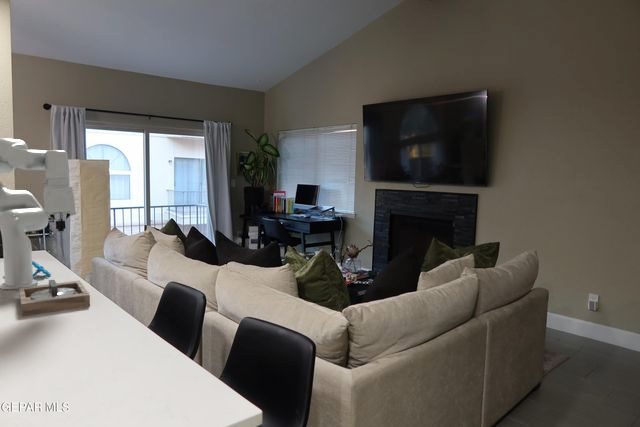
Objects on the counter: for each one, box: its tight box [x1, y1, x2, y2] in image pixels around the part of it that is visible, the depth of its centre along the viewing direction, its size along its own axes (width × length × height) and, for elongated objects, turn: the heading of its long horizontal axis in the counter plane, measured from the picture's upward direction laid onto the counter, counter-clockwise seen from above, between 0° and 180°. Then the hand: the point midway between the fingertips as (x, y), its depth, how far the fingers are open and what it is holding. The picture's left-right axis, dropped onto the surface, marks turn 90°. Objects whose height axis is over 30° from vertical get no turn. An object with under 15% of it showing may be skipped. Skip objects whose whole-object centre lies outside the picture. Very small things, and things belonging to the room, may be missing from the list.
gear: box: [32, 260, 52, 278], centre depth 195 cm, size 11×6×10 cm
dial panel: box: [18, 280, 91, 317], centre depth 159 cm, size 24×20×4 cm
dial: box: [30, 279, 76, 300], centre depth 159 cm, size 14×14×5 cm
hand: (60, 230), depth 168 cm, fingers closed
